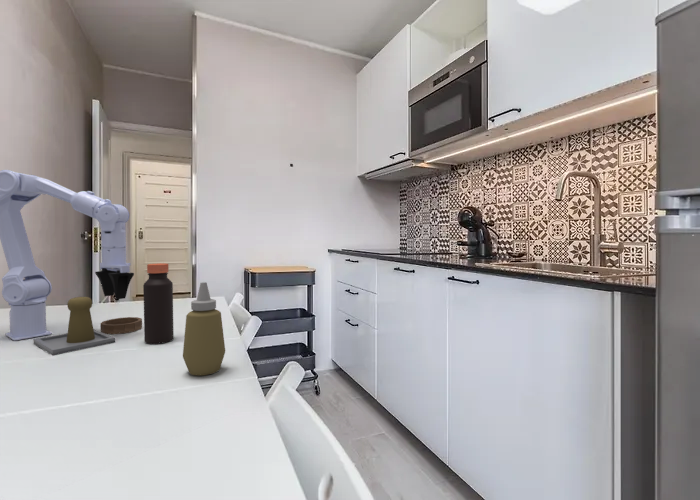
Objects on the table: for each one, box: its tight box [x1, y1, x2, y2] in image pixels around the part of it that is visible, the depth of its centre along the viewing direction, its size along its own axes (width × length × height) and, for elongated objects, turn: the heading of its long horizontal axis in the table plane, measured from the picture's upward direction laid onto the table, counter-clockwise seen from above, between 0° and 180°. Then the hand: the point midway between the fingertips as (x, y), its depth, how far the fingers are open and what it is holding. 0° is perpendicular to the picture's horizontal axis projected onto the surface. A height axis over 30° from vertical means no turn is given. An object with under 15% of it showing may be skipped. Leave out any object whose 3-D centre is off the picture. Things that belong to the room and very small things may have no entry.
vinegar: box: [142, 262, 175, 345], centre depth 96 cm, size 7×7×20 cm
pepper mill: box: [66, 296, 95, 343], centre depth 96 cm, size 6×6×11 cm
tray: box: [33, 328, 116, 356], centre depth 95 cm, size 15×13×1 cm
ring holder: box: [99, 316, 143, 335], centre depth 108 cm, size 10×10×2 cm
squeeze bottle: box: [182, 281, 226, 377], centre depth 75 cm, size 8×8×18 cm
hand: (114, 297), depth 103 cm, fingers open, 7 cm apart
